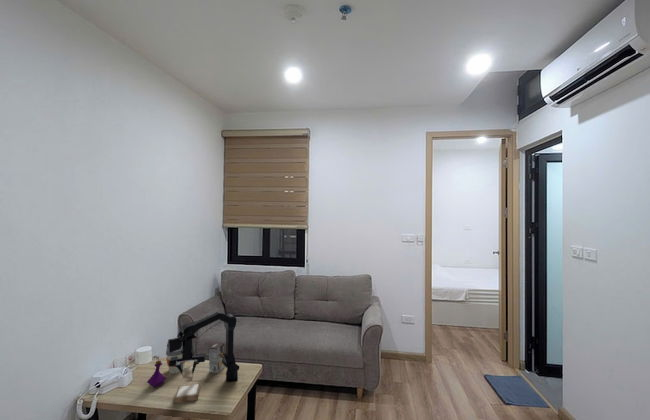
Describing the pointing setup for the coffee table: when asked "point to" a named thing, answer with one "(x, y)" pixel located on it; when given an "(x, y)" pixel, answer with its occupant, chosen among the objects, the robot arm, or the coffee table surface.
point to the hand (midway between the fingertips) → (187, 374)
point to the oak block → (187, 374)
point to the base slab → (187, 393)
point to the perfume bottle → (157, 375)
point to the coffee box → (216, 357)
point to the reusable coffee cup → (169, 355)
